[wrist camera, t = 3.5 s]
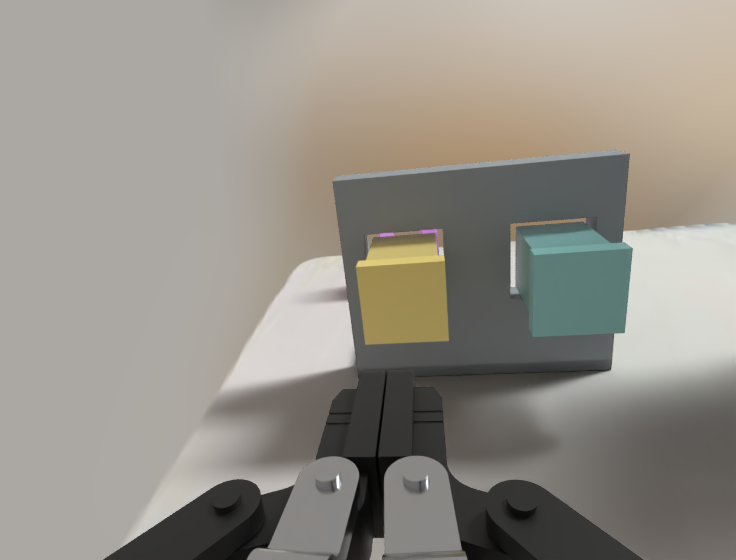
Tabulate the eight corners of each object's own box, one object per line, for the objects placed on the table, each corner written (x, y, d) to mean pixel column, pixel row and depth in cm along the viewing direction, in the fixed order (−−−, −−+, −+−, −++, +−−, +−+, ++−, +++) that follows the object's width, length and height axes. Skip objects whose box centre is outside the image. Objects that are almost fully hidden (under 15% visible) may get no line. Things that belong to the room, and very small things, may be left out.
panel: (586, 334, 36) (598, 145, 31) (611, 369, 31) (629, 153, 26) (366, 344, 38) (344, 169, 33) (358, 378, 34) (332, 181, 29)
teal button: (584, 286, 30) (588, 216, 29) (624, 333, 24) (632, 248, 23) (510, 290, 31) (510, 222, 29) (532, 337, 25) (534, 255, 23)
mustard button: (443, 294, 32) (439, 227, 30) (448, 341, 26) (444, 260, 24) (375, 298, 32) (368, 233, 31) (365, 344, 26) (355, 266, 25)
